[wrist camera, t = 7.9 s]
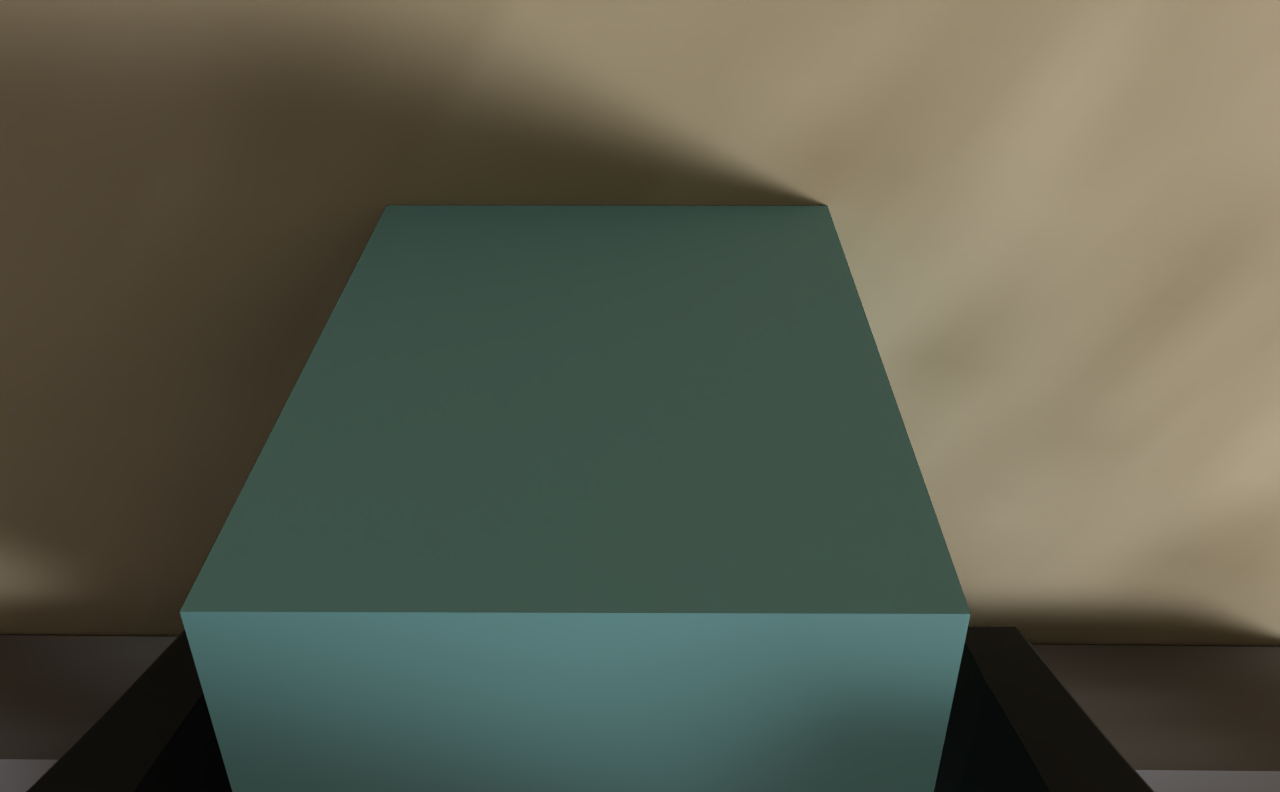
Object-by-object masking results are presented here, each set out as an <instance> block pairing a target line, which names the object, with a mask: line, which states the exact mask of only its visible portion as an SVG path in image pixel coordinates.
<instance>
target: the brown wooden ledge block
mask: <svg viewBox="0 0 1280 792" xmlns="http://www.w3.org/2000/svg"><path fill="white" fill-rule="evenodd" d="M176 638H177V637H146V636H38V635H0V792H26V791H27V790H28V789H29V788H30V787H31V786H32V785H34V784H35V783H36V782H37V781H38V780H39V779H40V778H41V777H42V776H43V775H44V774H45V773H46V772H47V771H48V770H49V769H50V768H51V767H52V766H53V765H54V764H55V763H56V762H57V761H58V760H59V759H60V758H61V757H62V756H63V755H64V754H65V753H66V752H67V751H68V750H69V749H70V748H71V747H72V746H73V745H74V744H75V743H76V742H77V741H78V740H79V739H80V738H81V737H82V736H83V735H84V734H85V733H86V732H87V731H88V730H89V729H90V728H91V727H92V726H93V725H94V723H95V722H96V721H97V720H98V719H99V718H100V717H101V716H102V715H103V714H104V713H105V712H106V711H107V710H108V709H109V708H110V707H111V706H112V705H113V704H114V703H115V702H116V701H117V700H118V699H119V698H120V697H121V695H122V694H123V693H124V692H125V691H126V690H127V689H128V688H129V687H130V686H131V685H132V684H133V683H134V682H135V681H136V680H137V679H138V678H139V677H140V676H141V675H142V673H143V672H144V671H145V670H146V669H147V668H148V667H149V666H150V665H151V664H152V663H153V662H154V661H155V660H156V659H157V658H158V657H159V656H160V655H161V654H162V652H163V651H164V650H165V649H166V648H167V647H168V646H169V645H170V644H171V643H172V642H173V641H174V640H175V639H176ZM1032 646H1033V648H1034V649H1035V650H1036V651H1037V653H1038V654H1039V655H1040V656H1041V658H1042V659H1043V660H1044V661H1045V663H1046V664H1047V665H1048V666H1049V668H1050V669H1051V670H1052V671H1053V672H1054V674H1055V675H1056V676H1057V677H1058V679H1059V680H1060V681H1061V682H1062V684H1063V685H1064V686H1065V687H1066V689H1067V690H1068V691H1069V692H1070V693H1071V695H1072V696H1073V697H1074V698H1075V700H1076V701H1077V702H1078V703H1079V705H1080V706H1081V707H1082V708H1083V709H1084V711H1085V712H1086V713H1087V714H1088V715H1089V717H1090V718H1091V719H1092V720H1093V721H1094V723H1095V724H1096V725H1097V726H1098V727H1099V729H1100V730H1101V731H1102V732H1103V733H1104V735H1105V736H1106V737H1107V738H1108V739H1109V740H1110V742H1111V743H1112V744H1113V745H1114V746H1115V748H1116V749H1117V750H1118V751H1119V752H1120V753H1121V755H1122V756H1123V757H1124V758H1125V759H1126V760H1127V761H1128V763H1129V764H1130V765H1131V766H1132V767H1133V768H1134V769H1135V770H1136V772H1137V773H1138V774H1139V775H1140V776H1141V777H1142V778H1143V779H1144V781H1145V782H1146V783H1147V784H1148V785H1149V786H1150V787H1151V788H1152V790H1153V791H1154V792H1280V647H1234V646H1125V645H1032Z"/></svg>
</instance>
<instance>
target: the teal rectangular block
mask: <svg viewBox="0 0 1280 792" xmlns="http://www.w3.org/2000/svg"><path fill="white" fill-rule="evenodd" d="M180 615H181V618H182V621H183V625H184V628H185V632H186V635H187V638H188V642H189V645H190V649H191V652H192V656H193V659H194V662H195V666H196V669H197V673H198V676H199V679H200V683H201V686H202V690H203V693H204V697H205V700H206V703H207V707H208V710H209V714H210V717H211V721H212V724H213V727H214V731H215V734H216V738H217V741H218V744H219V748H220V751H221V755H222V758H223V762H224V765H225V768H226V772H227V775H228V779H229V782H230V785H231V789H232V792H934V788H935V784H936V779H937V774H938V769H939V764H940V760H941V755H942V750H943V745H944V740H945V735H946V731H947V726H948V721H949V716H950V711H951V707H952V702H953V697H954V692H955V687H956V682H957V678H958V673H959V668H960V663H961V658H962V653H963V649H964V644H965V639H966V634H967V629H968V625H969V620H970V615H971V614H970V611H969V608H968V605H967V602H966V599H965V596H964V594H963V591H962V588H961V585H960V582H959V579H958V576H957V574H956V571H955V568H954V565H953V562H952V559H951V557H950V554H949V551H948V548H947V545H946V542H945V539H944V537H943V534H942V531H941V528H940V525H939V522H938V520H937V517H936V514H935V511H934V508H933V505H932V502H931V500H930V497H929V494H928V491H927V488H926V485H925V483H924V480H923V477H922V474H921V471H920V468H919V465H918V463H917V460H916V457H915V454H914V451H913V448H912V446H911V443H910V440H909V437H908V434H907V431H906V428H905V426H904V423H903V420H902V417H901V414H900V411H899V409H898V406H897V403H896V400H895V397H894V394H893V391H892V389H891V386H890V383H889V380H888V377H887V374H886V372H885V369H884V366H883V363H882V360H881V357H880V354H879V352H878V349H877V346H876V343H875V340H874V337H873V334H872V332H871V329H870V326H869V323H868V320H867V317H866V315H865V312H864V309H863V306H862V303H861V300H860V297H859V295H858V292H857V289H856V286H855V283H854V280H853V278H852V275H851V272H850V269H849V266H848V263H847V260H846V258H845V255H844V252H843V249H842V246H841V243H840V241H839V238H838V235H837V232H836V229H835V226H834V223H833V221H832V218H831V215H830V212H829V209H828V206H624V205H387V206H386V208H385V210H384V212H383V214H382V216H381V218H380V220H379V221H378V223H377V225H376V227H375V229H374V231H373V233H372V235H371V237H370V239H369V241H368V243H367V245H366V247H365V249H364V251H363V253H362V255H361V257H360V259H359V261H358V263H357V265H356V267H355V269H354V271H353V273H352V274H351V276H350V278H349V280H348V282H347V284H346V286H345V288H344V290H343V292H342V294H341V296H340V298H339V300H338V302H337V304H336V306H335V308H334V310H333V312H332V314H331V316H330V318H329V320H328V322H327V324H326V326H325V327H324V329H323V331H322V333H321V335H320V337H319V339H318V341H317V343H316V345H315V347H314V349H313V351H312V353H311V355H310V357H309V359H308V361H307V363H306V365H305V367H304V369H303V371H302V373H301V375H300V377H299V379H298V380H297V382H296V384H295V386H294V388H293V390H292V392H291V394H290V396H289V398H288V400H287V402H286V404H285V406H284V408H283V410H282V412H281V414H280V416H279V418H278V420H277V422H276V424H275V426H274V428H273V430H272V431H271V433H270V435H269V437H268V439H267V441H266V443H265V445H264V447H263V449H262V451H261V453H260V455H259V457H258V459H257V461H256V463H255V465H254V467H253V469H252V471H251V473H250V475H249V477H248V479H247V481H246V483H245V484H244V486H243V488H242V490H241V492H240V494H239V496H238V498H237V500H236V502H235V504H234V506H233V508H232V510H231V512H230V514H229V516H228V518H227V520H226V522H225V524H224V526H223V528H222V530H221V532H220V534H219V536H218V537H217V539H216V541H215V543H214V545H213V547H212V549H211V551H210V553H209V555H208V557H207V559H206V561H205V563H204V565H203V567H202V569H201V571H200V573H199V575H198V577H197V579H196V581H195V583H194V585H193V587H192V589H191V590H190V592H189V594H188V596H187V598H186V600H185V602H184V604H183V606H182V608H181V610H180Z"/></svg>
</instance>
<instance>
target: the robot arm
mask: <svg viewBox="0 0 1280 792" xmlns="http://www.w3.org/2000/svg"><path fill="white" fill-rule="evenodd" d="M26 792H232V789H231V785H230V782H229V779H228V775H227V772H226V768H225V765H224V762H223V758H222V755H221V751H220V748H219V744H218V741H217V738H216V734H215V731H214V727H213V724H212V721H211V717H210V714H209V710H208V707H207V703H206V700H205V697H204V693H203V690H202V686H201V683H200V679H199V676H198V673H197V669H196V666H195V662H194V659H193V656H192V652H191V649H190V645H189V642H188V638H187V635H186V632H185V630H184V631H183V632H182V633H181V634H180V635H179V636H178V637H177V638H176V639H175V640H174V641H173V642H172V643H171V644H170V645H169V646H168V647H167V648H166V649H165V650H164V651H163V652H162V654H161V655H160V656H159V657H158V658H157V659H156V660H155V661H154V662H153V663H152V664H151V665H150V666H149V667H148V668H147V669H146V670H145V671H144V672H143V673H142V675H141V676H140V677H139V678H138V679H137V680H136V681H135V682H134V683H133V684H132V685H131V686H130V687H129V688H128V689H127V690H126V691H125V692H124V693H123V694H122V695H121V697H120V698H119V699H118V700H117V701H116V702H115V703H114V704H113V705H112V706H111V707H110V708H109V709H108V710H107V711H106V712H105V713H104V714H103V715H102V716H101V717H100V718H99V719H98V720H97V721H96V722H95V723H94V725H93V726H92V727H91V728H90V729H89V730H88V731H87V732H86V733H85V734H84V735H83V736H82V737H81V738H80V739H79V740H78V741H77V742H76V743H75V744H74V745H73V746H72V747H71V748H70V749H69V750H68V751H67V752H66V753H65V754H64V755H63V756H62V757H61V758H60V759H59V760H58V761H57V762H56V763H55V764H54V765H53V766H52V767H51V768H50V769H49V770H48V771H47V772H46V773H45V774H44V775H43V776H42V777H41V778H40V779H39V780H38V781H37V782H36V783H35V784H34V785H32V786H31V787H30V788H29V789H28V790H27V791H26ZM934 792H1154V791H1153V790H1152V788H1151V787H1150V786H1149V785H1148V784H1147V783H1146V782H1145V781H1144V779H1143V778H1142V777H1141V776H1140V775H1139V774H1138V773H1137V772H1136V770H1135V769H1134V768H1133V767H1132V766H1131V765H1130V764H1129V763H1128V761H1127V760H1126V759H1125V758H1124V757H1123V756H1122V755H1121V753H1120V752H1119V751H1118V750H1117V749H1116V748H1115V746H1114V745H1113V744H1112V743H1111V742H1110V740H1109V739H1108V738H1107V737H1106V736H1105V735H1104V733H1103V732H1102V731H1101V730H1100V729H1099V727H1098V726H1097V725H1096V724H1095V723H1094V721H1093V720H1092V719H1091V718H1090V717H1089V715H1088V714H1087V713H1086V712H1085V711H1084V709H1083V708H1082V707H1081V706H1080V705H1079V703H1078V702H1077V701H1076V700H1075V698H1074V697H1073V696H1072V695H1071V693H1070V692H1069V691H1068V690H1067V689H1066V687H1065V686H1064V685H1063V684H1062V682H1061V681H1060V680H1059V679H1058V677H1057V676H1056V675H1055V674H1054V672H1053V671H1052V670H1051V669H1050V668H1049V666H1048V665H1047V664H1046V663H1045V661H1044V660H1043V659H1042V658H1041V656H1040V655H1039V654H1038V653H1037V651H1036V650H1035V649H1034V648H1033V646H1032V645H1031V644H1030V643H1029V641H1028V640H1027V639H1026V638H1025V637H1024V635H1023V634H1022V633H1021V632H1020V631H1019V630H1018V629H1017V628H1016V627H968V629H967V634H966V639H965V644H964V649H963V653H962V658H961V663H960V668H959V673H958V678H957V682H956V687H955V692H954V697H953V702H952V707H951V711H950V716H949V721H948V726H947V731H946V735H945V740H944V745H943V750H942V755H941V760H940V764H939V769H938V774H937V779H936V784H935V788H934Z"/></svg>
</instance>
